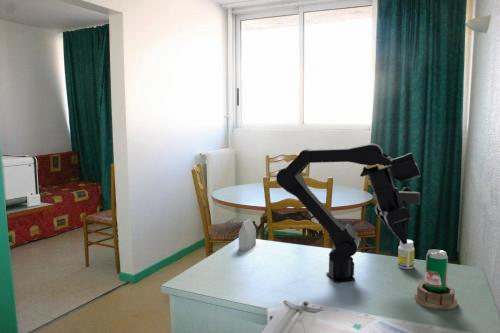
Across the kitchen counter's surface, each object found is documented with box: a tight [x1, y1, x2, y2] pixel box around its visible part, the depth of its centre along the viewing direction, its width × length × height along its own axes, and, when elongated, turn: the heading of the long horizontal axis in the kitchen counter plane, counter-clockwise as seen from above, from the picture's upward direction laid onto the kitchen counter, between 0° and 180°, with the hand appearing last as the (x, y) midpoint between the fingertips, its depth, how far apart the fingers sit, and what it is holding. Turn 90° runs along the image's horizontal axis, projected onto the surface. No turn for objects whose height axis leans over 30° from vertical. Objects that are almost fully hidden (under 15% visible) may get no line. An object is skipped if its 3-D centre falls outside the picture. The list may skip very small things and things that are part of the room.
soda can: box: [424, 248, 449, 294], centre depth 104 cm, size 5×5×12 cm
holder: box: [414, 281, 458, 311], centre depth 105 cm, size 10×10×4 cm
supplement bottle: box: [397, 238, 415, 270], centre depth 128 cm, size 5×5×8 cm
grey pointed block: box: [238, 218, 257, 251], centre depth 148 cm, size 4×7×10 cm, turn 154°
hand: (401, 239), depth 112 cm, fingers open, 9 cm apart
